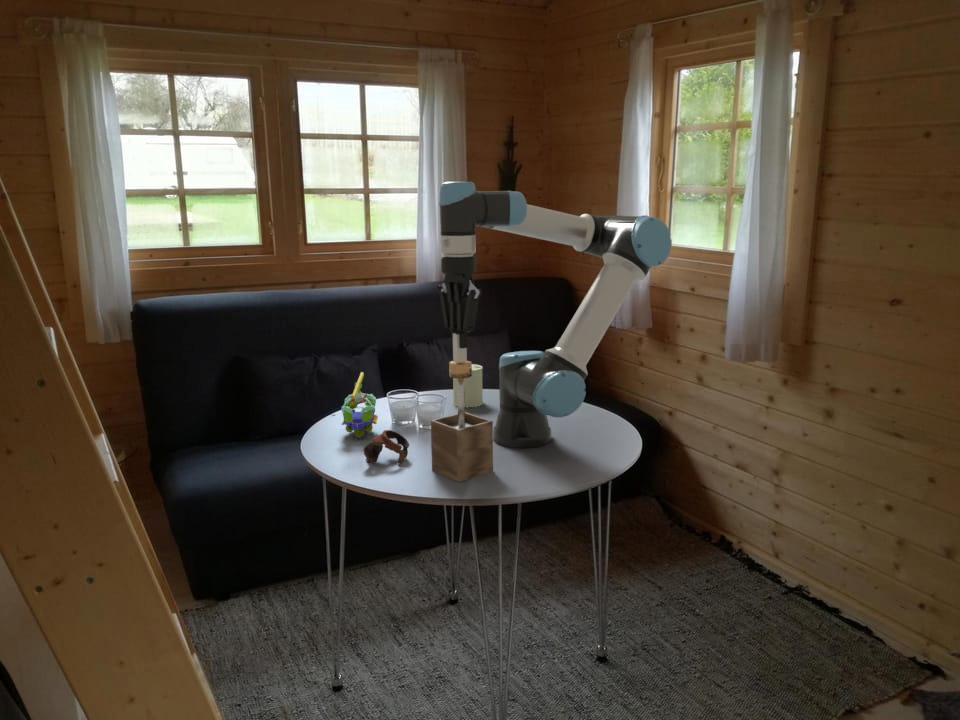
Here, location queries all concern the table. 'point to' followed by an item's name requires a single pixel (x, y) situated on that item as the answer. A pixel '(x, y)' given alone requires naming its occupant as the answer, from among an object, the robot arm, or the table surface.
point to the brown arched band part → (386, 446)
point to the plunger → (461, 389)
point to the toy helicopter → (359, 419)
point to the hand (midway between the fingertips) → (460, 361)
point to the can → (471, 388)
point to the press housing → (462, 447)
